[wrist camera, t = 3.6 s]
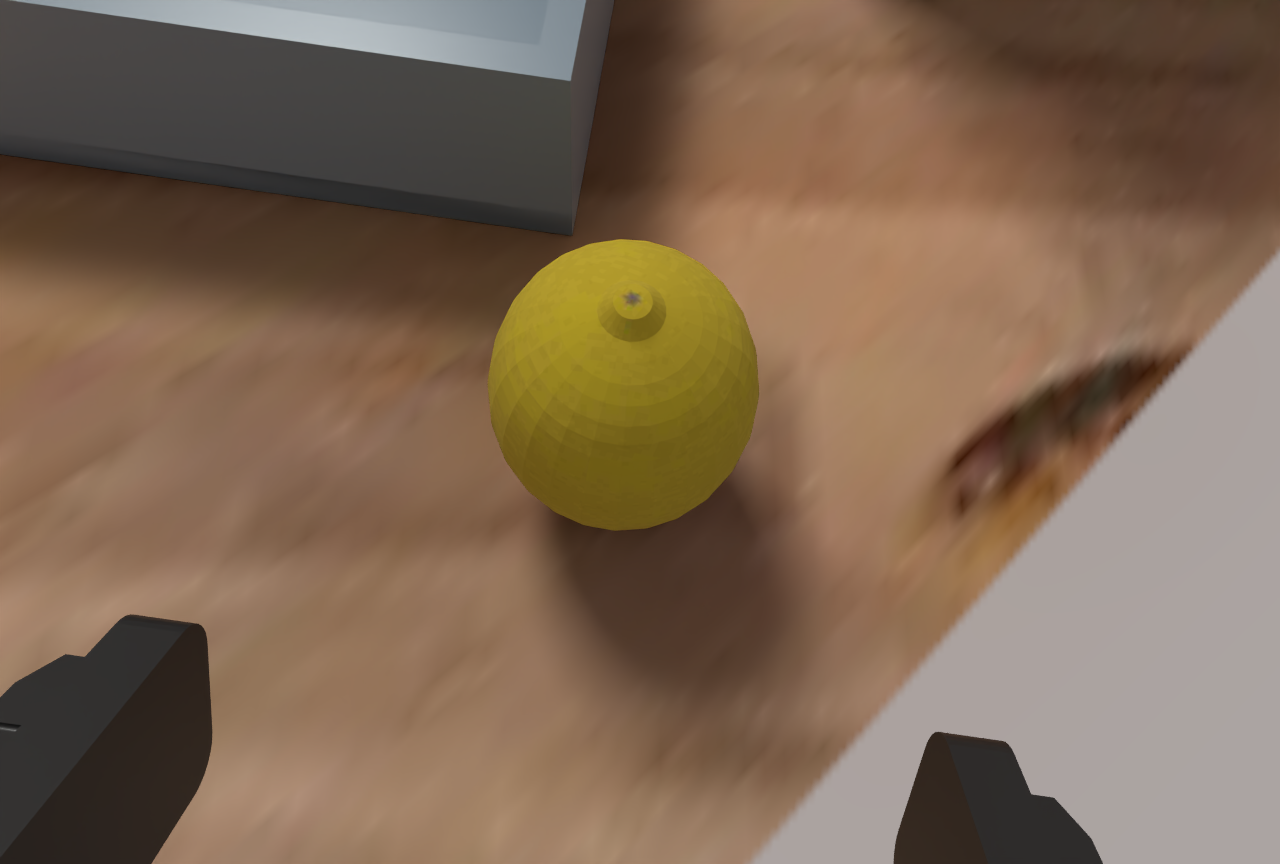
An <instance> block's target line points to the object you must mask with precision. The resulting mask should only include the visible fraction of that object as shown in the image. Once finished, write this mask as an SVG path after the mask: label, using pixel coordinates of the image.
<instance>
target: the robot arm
mask: <svg viewBox="0 0 1280 864" xmlns="http://www.w3.org/2000/svg"><path fill="white" fill-rule="evenodd" d="M211 745H212V717H211V699H210V681H209V663H208V645H207V636H206V632H205V630H204V628H203V627H202V626H201V625H199V624H195V623H188V622H181V621H174V620H167V619H160V618H153V617H146V616H139V615H127V616H125V617H123V618H122V619H120V620H119V621H118V622H117V623H116V624H115V625H114V626H113V627H112V628H111V629H110V630H109V632H108V633H107V634H106V635H105V636H104V637H103V638H102V639H101V640H100V641H99V642H98V643H97V644H96V646H95V647H94V648H93V649H92V650H91V651H90V652H89V653H88V654H87V655H86V656H85V657H81V656H74V655H67V654H65V655H63V656H62V657H60V658H58V659H56V660H55V661H53V662H51V663H49V664H47V665H46V666H44V667H42V668H40V669H38V670H37V671H35V672H33V673H31V674H30V675H28V676H26V677H24V678H22V679H21V680H19V681H17V682H15V683H14V684H13V685H12V686H11V687H10V688H9V689H8V690H7V691H6V692H5V693H4V694H3V695H2V696H1V697H0V864H151V863H152V862H153V860H154V859H155V857H156V855H157V854H158V852H159V851H160V849H161V848H162V846H163V844H164V843H165V841H166V840H167V838H168V836H169V835H170V833H171V832H172V830H173V829H174V827H175V825H176V824H177V822H178V821H179V819H180V817H181V816H182V814H183V813H184V811H185V810H186V808H187V806H188V805H189V803H190V802H191V800H192V798H193V797H194V795H195V793H196V792H197V790H198V788H199V786H200V784H201V781H202V779H203V776H204V774H205V771H206V768H207V764H208V761H209V756H210V752H211ZM894 864H1103V863H1102V861H1101V858H1100V856H1099V854H1098V852H1097V850H1096V848H1095V846H1094V844H1093V841H1092V839H1091V838H1090V837H1089V836H1088V835H1087V833H1086V832H1085V831H1084V830H1083V829H1082V828H1081V827H1080V826H1079V825H1078V824H1077V823H1076V821H1075V820H1074V819H1073V818H1072V817H1071V816H1070V815H1069V814H1068V813H1067V811H1066V810H1065V809H1064V808H1063V807H1062V806H1061V805H1060V804H1059V803H1058V802H1057V801H1056V800H1055V798H1051V797H1045V796H1038V795H1031V793H1030V791H1029V788H1028V786H1027V784H1026V781H1025V779H1024V776H1023V774H1022V771H1021V769H1020V767H1019V764H1018V762H1017V760H1016V757H1015V755H1014V753H1013V751H1012V749H1011V747H1010V746H1009V745H1008V744H1007V743H1006V742H1004V741H998V740H991V739H984V738H977V737H970V736H963V735H956V734H949V733H942V732H935V733H934V734H932V736H931V737H930V739H929V740H928V742H927V745H926V748H925V750H924V754H923V757H922V760H921V763H920V766H919V769H918V772H917V775H916V778H915V781H914V785H913V787H912V791H911V794H910V797H909V800H908V803H907V806H906V809H905V812H904V815H903V818H902V821H901V825H900V828H899V831H898V835H897V839H896V844H895V851H894Z"/></svg>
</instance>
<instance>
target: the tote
mask: <svg viewBox="0 0 1280 864" xmlns="http://www.w3.org/2000/svg"><path fill="white" fill-rule="evenodd" d="M613 6H614V0H0V154H2V155H9V156H16V157H23V158H30V159H37V160H44V161H51V162H58V163H65V164H72V165H79V166H86V167H94V168H101V169H108V170H115V171H122V172H129V173H136V174H143V175H150V176H157V177H164V178H171V179H178V180H185V181H192V182H199V183H206V184H213V185H220V186H227V187H234V188H241V189H248V190H255V191H262V192H269V193H276V194H283V195H290V196H297V197H304V198H311V199H318V200H325V201H332V202H339V203H346V204H353V205H360V206H367V207H374V208H381V209H388V210H395V211H402V212H409V213H416V214H423V215H430V216H437V217H444V218H451V219H458V220H465V221H472V222H479V223H486V224H493V225H500V226H507V227H514V228H521V229H528V230H535V231H542V232H549V233H556V234H563V235H570V236H572V235H573V229H574V224H575V218H576V213H577V207H578V201H579V196H580V190H581V185H582V179H583V173H584V168H585V162H586V157H587V151H588V145H589V140H590V134H591V129H592V123H593V117H594V112H595V106H596V101H597V95H598V89H599V84H600V78H601V73H602V67H603V62H604V56H605V50H606V45H607V39H608V34H609V28H610V22H611V17H612V11H613Z"/></svg>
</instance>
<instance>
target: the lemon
mask: <svg viewBox="0 0 1280 864" xmlns="http://www.w3.org/2000/svg"><path fill="white" fill-rule="evenodd" d="M488 394H489V403H490V413H491V423H492V426H493V430H494V432H495V435H496V437H497V440H498V442H499V445H500V448H501V450H502V453H503V455H504V458H505V460H506V462H507V463H508V465H509V466H510V468H511V469H512V470H513V472H514V473H515V474H516V476H517V477H518V478H519V480H520V481H521V482H522V484H523V485H524V486H525V488H526V489H527V490H528V491H529V492H530V493H531V494H532V495H534V496H535V497H536V498H537V499H539V500H540V501H541V502H543V503H544V504H545V505H546V506H548V507H549V508H550V509H551V510H553V511H554V512H556V513H558V514H560V515H562V516H564V517H567V518H569V519H571V520H573V521H575V522H578V523H580V524H582V525H586V526H591V527H597V528H602V529H608V530H614V531H617V530H631V529H646V528H650V527H653V526H656V525H659V524H662V523H665V522H668V521H672V520H675V519H677V518H679V517H680V516H682V515H684V514H685V513H687V512H688V511H690V510H691V509H693V508H695V507H696V506H698V505H699V504H701V503H702V502H704V501H705V500H707V499H708V498H709V497H710V496H711V494H712V493H713V492H714V491H715V490H716V489H717V488H718V487H719V486H720V485H721V484H722V482H723V481H724V480H725V479H726V478H727V477H728V476H729V475H730V474H731V473H732V471H733V469H734V467H735V465H736V463H737V462H738V460H739V458H740V456H741V454H742V452H743V450H744V448H745V446H746V444H747V442H748V441H749V439H750V435H751V432H752V428H753V423H754V418H755V413H756V408H757V404H758V397H759V382H758V369H757V355H756V349H755V345H754V343H753V340H752V337H751V334H750V331H749V328H748V325H747V322H746V319H745V316H744V314H743V312H742V310H741V309H740V307H739V306H738V304H737V303H736V301H735V300H734V298H733V297H732V295H731V294H730V292H729V291H728V289H727V288H726V286H725V285H724V283H723V282H721V281H720V280H719V279H718V278H717V277H716V276H715V275H714V274H713V273H712V272H710V271H709V270H708V269H707V268H706V267H705V266H704V265H703V264H701V263H699V262H698V261H696V260H694V259H692V258H690V257H689V256H687V255H685V254H683V253H681V252H680V251H678V250H676V249H673V248H670V247H666V246H663V245H660V244H656V243H653V242H649V241H640V240H625V239H618V240H612V241H605V242H598V243H592V244H588V245H586V246H583V247H581V248H578V249H575V250H573V251H570V252H568V253H565V254H563V255H561V256H560V257H558V258H557V259H556V260H554V261H553V262H551V263H550V264H549V265H547V266H546V267H544V268H543V269H541V270H540V271H539V272H538V273H537V274H536V275H535V276H534V277H533V278H532V279H531V280H530V281H529V283H528V284H527V285H526V286H525V287H524V288H523V289H522V291H521V292H520V293H519V294H518V295H517V296H516V298H515V299H514V301H513V303H512V304H511V306H510V308H509V310H508V312H507V315H506V317H505V319H504V321H503V323H502V325H501V327H500V329H499V331H498V333H497V336H496V338H495V342H494V347H493V352H492V358H491V364H490V370H489V376H488Z"/></svg>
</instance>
